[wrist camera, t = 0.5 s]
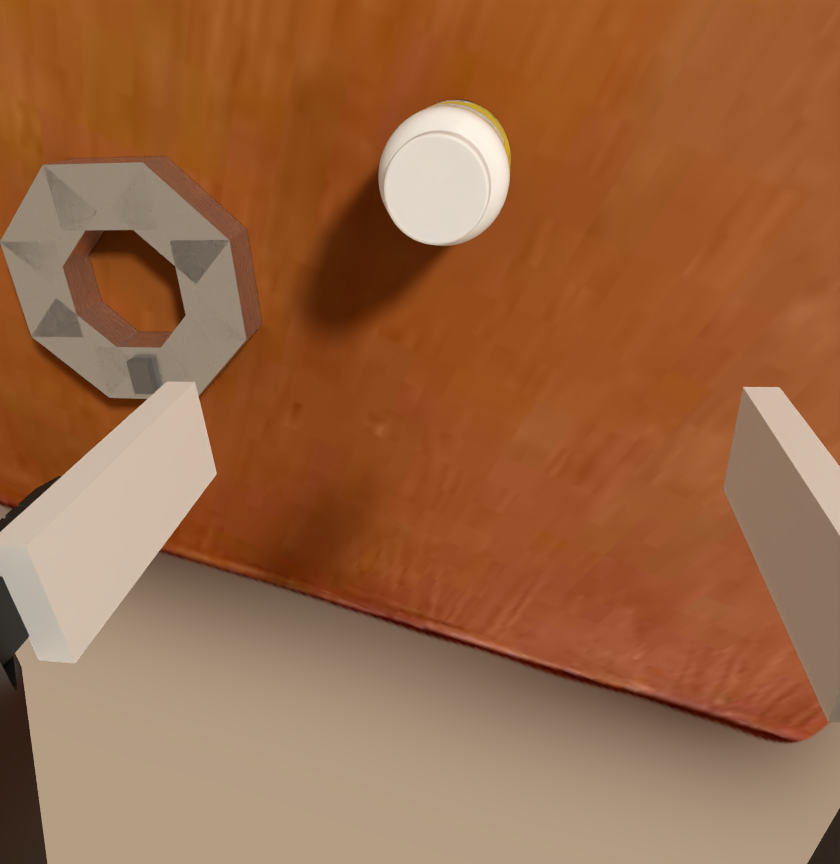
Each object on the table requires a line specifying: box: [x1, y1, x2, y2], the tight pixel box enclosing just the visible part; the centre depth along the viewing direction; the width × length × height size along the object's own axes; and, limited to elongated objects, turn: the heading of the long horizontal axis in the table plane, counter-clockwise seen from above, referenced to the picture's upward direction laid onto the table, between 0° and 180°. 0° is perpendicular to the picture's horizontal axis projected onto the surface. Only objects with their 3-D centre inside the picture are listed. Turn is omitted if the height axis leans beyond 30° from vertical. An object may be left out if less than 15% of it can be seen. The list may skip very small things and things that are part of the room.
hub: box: [0, 156, 262, 399], centre depth 37 cm, size 13×13×3 cm
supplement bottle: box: [378, 100, 511, 246], centre depth 29 cm, size 5×5×10 cm
